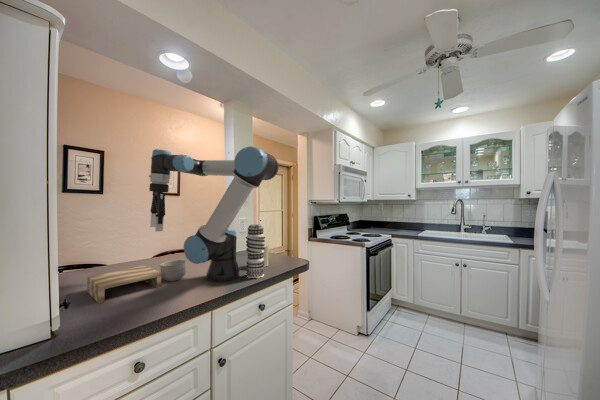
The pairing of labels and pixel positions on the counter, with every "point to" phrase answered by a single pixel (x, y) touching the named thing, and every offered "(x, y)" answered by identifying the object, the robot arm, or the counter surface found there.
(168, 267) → the teacup
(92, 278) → the wooden riser stand
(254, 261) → the decorative candle
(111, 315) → the counter surface
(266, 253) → the can
